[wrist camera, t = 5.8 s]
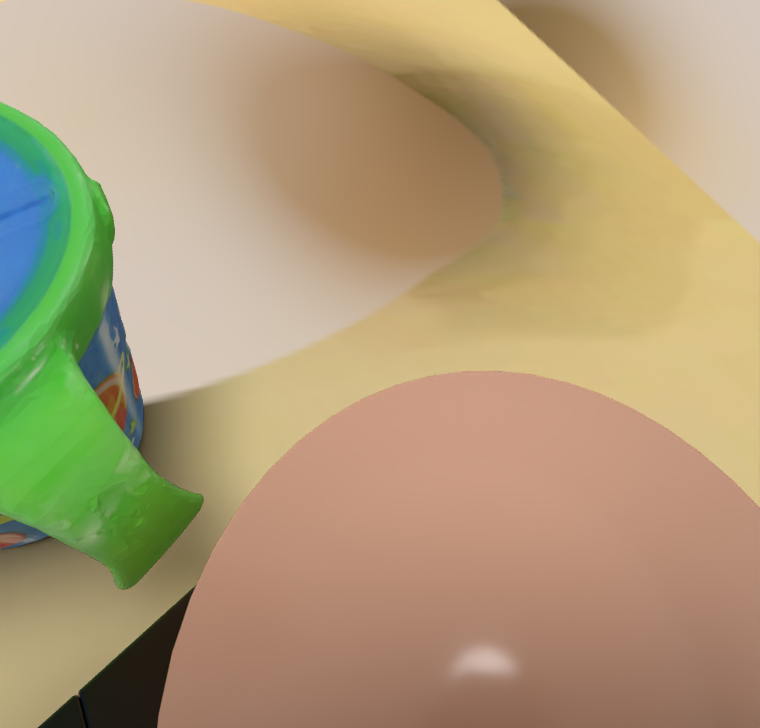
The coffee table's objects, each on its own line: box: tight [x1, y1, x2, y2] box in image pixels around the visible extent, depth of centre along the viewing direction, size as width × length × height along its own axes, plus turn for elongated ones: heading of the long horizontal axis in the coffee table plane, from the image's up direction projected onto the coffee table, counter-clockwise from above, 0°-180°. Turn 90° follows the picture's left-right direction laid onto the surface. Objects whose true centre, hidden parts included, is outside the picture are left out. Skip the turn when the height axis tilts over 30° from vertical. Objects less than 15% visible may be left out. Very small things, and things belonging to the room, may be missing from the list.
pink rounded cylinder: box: [157, 371, 760, 728], centre depth 8 cm, size 5×5×12 cm
